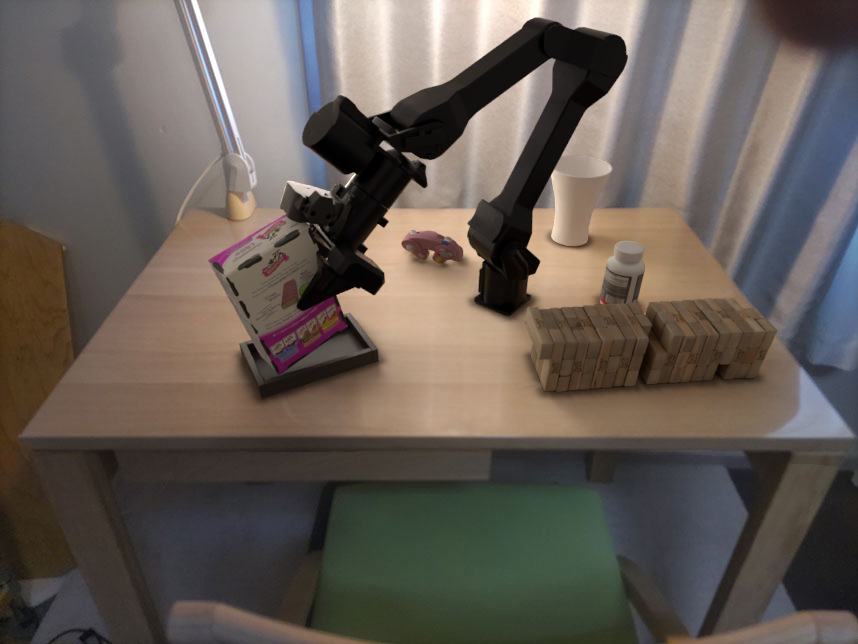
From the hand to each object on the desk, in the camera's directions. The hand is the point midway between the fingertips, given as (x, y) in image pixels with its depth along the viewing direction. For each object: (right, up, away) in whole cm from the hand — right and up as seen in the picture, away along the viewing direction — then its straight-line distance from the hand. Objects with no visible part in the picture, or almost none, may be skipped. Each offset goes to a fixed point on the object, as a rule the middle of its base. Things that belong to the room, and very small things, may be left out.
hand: (292, 297), depth 73 cm
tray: (+1, -8, +6) cm, 10 cm away
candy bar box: (+1, -6, +5) cm, 7 cm away
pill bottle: (+45, -1, +17) cm, 48 cm away
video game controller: (+17, +7, +28) cm, 34 cm away
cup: (+42, +12, +35) cm, 56 cm away
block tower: (+44, -9, +5) cm, 45 cm away
